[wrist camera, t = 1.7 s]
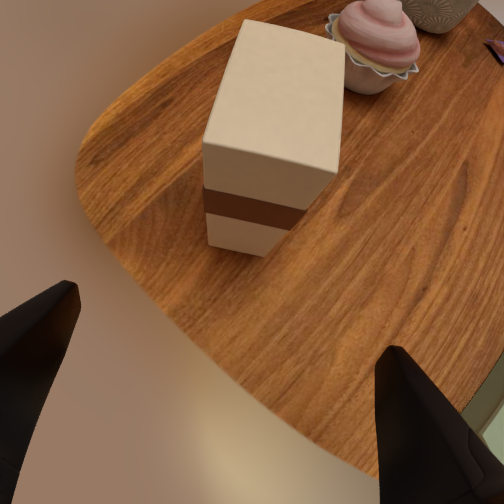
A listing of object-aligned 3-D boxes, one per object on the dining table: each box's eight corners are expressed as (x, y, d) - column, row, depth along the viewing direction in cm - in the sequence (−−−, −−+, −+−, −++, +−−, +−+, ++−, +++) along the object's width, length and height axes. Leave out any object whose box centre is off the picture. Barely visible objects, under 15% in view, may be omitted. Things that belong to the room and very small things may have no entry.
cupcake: (404, 119, 27) (462, 57, 17) (312, 97, 26) (351, 14, 16) (389, 54, 29) (429, -6, 19) (309, 33, 28) (336, -40, 18)
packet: (265, 258, 23) (339, 175, 9) (207, 246, 22) (198, 143, 9) (280, 179, 24) (347, 43, 10) (225, 167, 24) (243, 17, 10)
